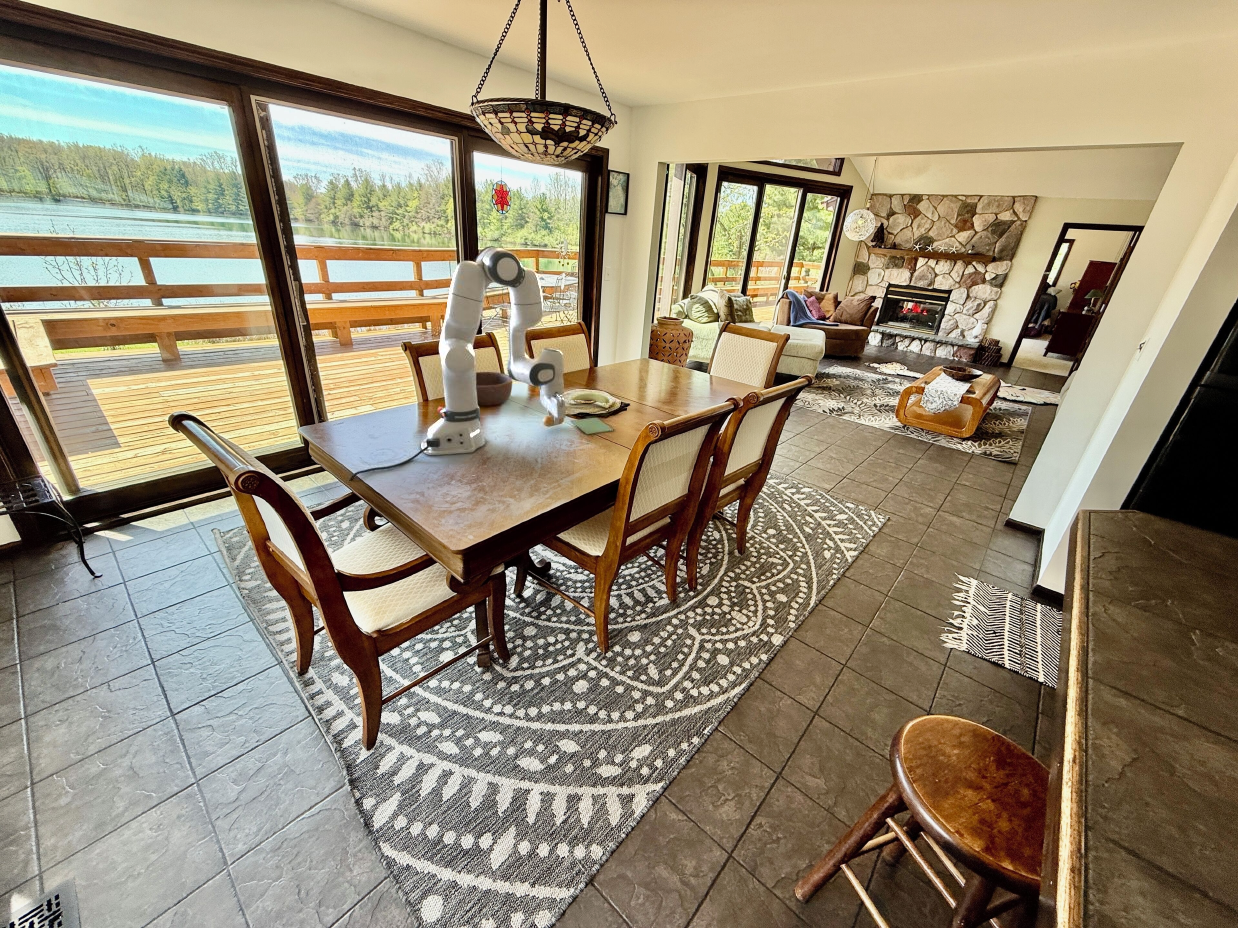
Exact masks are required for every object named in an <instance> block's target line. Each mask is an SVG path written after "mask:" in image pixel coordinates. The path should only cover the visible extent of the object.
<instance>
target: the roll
mask: <svg viewBox="0 0 1238 928" xmlns="http://www.w3.org/2000/svg"><path fill="white" fill-rule="evenodd" d="M553 420H554V415H550V416H548V415H547V416H545V417H543V419H542V424H543V426H545V427H547V428H551V427H554V426H556V425H555V424H554V423H553ZM564 421H565V418H561V419H559V424H558V425H557V426H559V425H562V424H563V423H564Z"/></svg>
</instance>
